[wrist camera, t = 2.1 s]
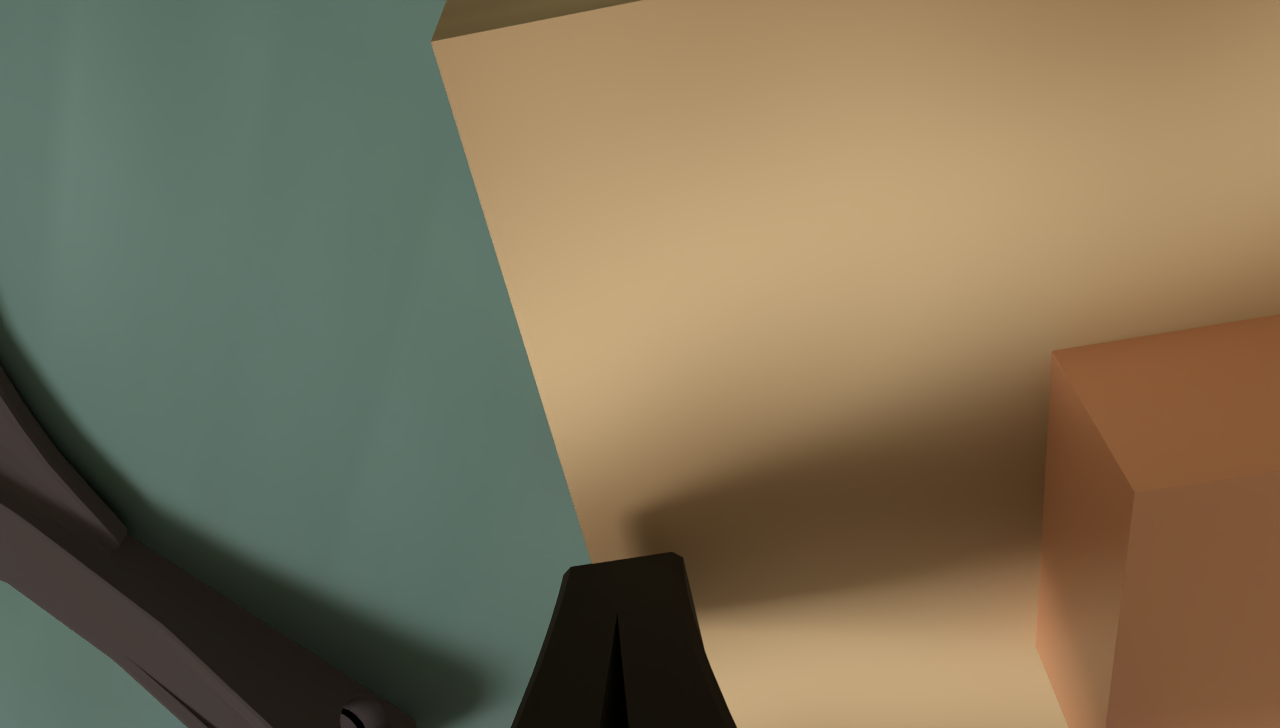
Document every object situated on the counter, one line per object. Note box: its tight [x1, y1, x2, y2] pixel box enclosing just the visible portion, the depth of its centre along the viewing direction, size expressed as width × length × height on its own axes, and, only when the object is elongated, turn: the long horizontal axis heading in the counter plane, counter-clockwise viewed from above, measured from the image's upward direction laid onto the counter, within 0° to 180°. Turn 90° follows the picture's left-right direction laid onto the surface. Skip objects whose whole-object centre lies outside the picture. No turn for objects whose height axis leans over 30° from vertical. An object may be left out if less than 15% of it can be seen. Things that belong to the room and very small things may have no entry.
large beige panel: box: [431, 0, 1280, 728], centre depth 14 cm, size 14×12×2 cm
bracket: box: [0, 365, 415, 728], centre depth 15 cm, size 14×15×3 cm
